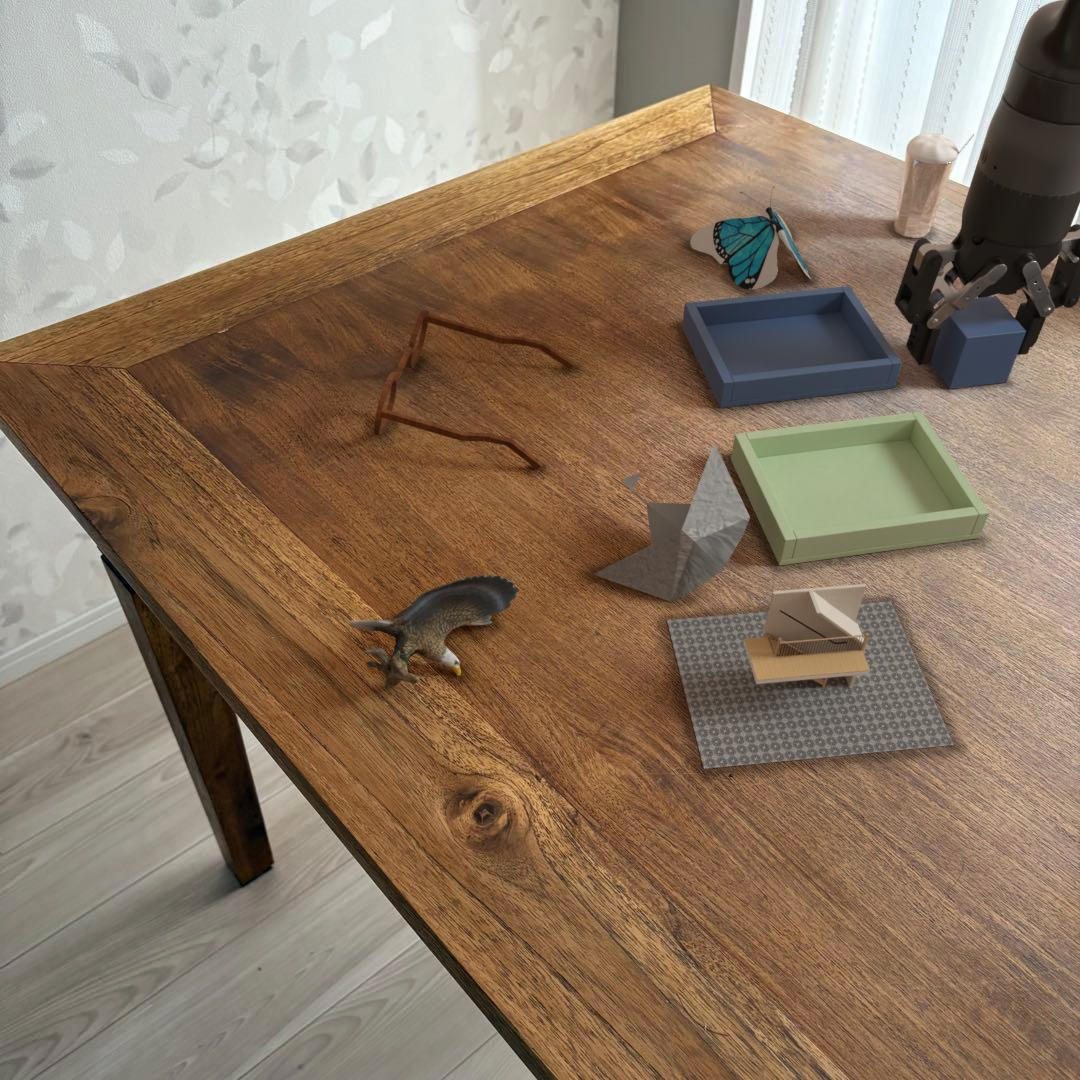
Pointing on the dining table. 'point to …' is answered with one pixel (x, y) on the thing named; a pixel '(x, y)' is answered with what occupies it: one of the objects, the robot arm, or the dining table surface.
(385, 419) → the glasses
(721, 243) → the decorative butterfly
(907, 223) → the milkshake
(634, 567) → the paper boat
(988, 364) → the block
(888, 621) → the architectural model
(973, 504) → the green tray
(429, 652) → the eagle figurine
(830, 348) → the blue tray
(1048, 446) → the dining table surface
